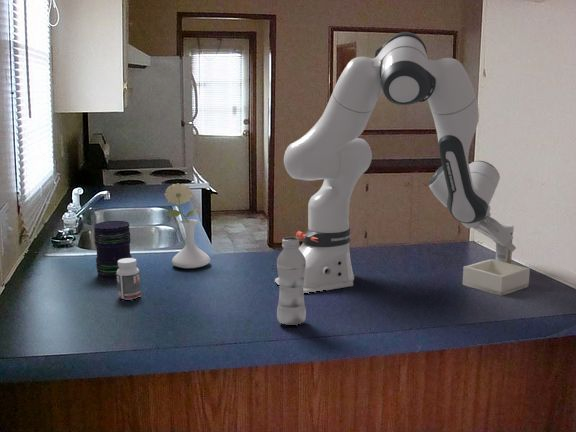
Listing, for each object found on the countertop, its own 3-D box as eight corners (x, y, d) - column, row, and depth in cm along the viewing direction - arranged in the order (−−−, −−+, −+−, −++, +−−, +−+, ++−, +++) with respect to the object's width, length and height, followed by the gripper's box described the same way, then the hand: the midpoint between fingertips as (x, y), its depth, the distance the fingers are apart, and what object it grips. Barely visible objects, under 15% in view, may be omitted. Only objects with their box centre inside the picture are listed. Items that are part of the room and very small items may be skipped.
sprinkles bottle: (514, 271, 191) (517, 225, 188) (503, 274, 188) (506, 227, 185) (501, 267, 194) (503, 222, 192) (490, 270, 192) (493, 224, 189)
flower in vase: (215, 261, 205) (212, 180, 199) (204, 272, 194) (200, 186, 188) (174, 260, 207) (170, 179, 202) (161, 270, 196) (156, 186, 191)
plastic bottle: (275, 319, 156) (274, 235, 151) (304, 318, 156) (304, 234, 152) (277, 329, 149) (276, 242, 145) (308, 328, 150) (307, 241, 146)
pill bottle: (145, 295, 174) (143, 258, 172) (133, 302, 169) (131, 264, 167) (126, 293, 176) (123, 256, 174) (113, 300, 171) (111, 262, 169)
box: (500, 296, 170) (501, 277, 169) (462, 284, 179) (463, 266, 178) (528, 286, 177) (529, 268, 176) (490, 276, 186) (491, 258, 185)
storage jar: (100, 282, 185) (96, 229, 182) (94, 273, 194) (90, 222, 191) (136, 277, 189) (132, 226, 186) (129, 268, 198) (126, 219, 195)
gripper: (497, 211, 176) (530, 246, 179) (468, 198, 196) (499, 229, 199) (480, 229, 177) (513, 263, 180) (453, 213, 197) (483, 244, 199)
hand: (505, 245), depth 189 cm, fingers open, 8 cm apart
